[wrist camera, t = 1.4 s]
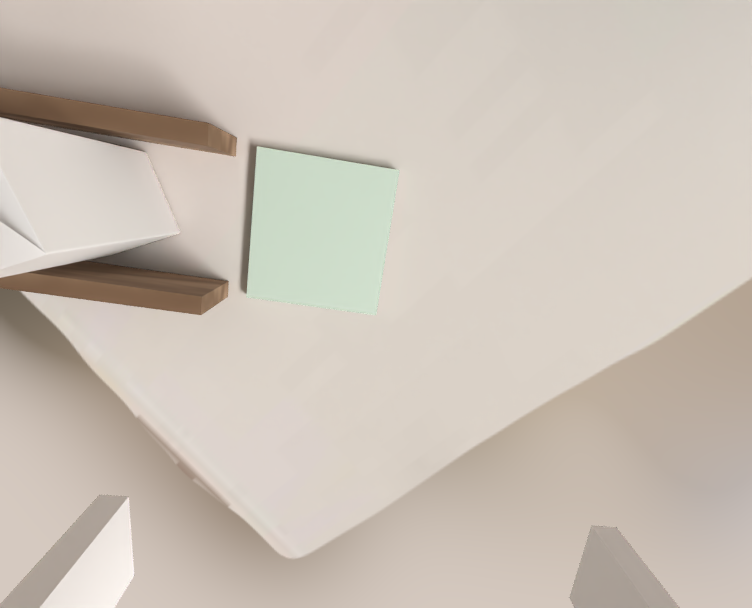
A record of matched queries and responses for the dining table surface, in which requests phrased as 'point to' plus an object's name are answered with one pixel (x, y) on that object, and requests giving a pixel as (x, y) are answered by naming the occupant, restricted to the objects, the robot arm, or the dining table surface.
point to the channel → (106, 278)
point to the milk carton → (73, 199)
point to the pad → (319, 231)
